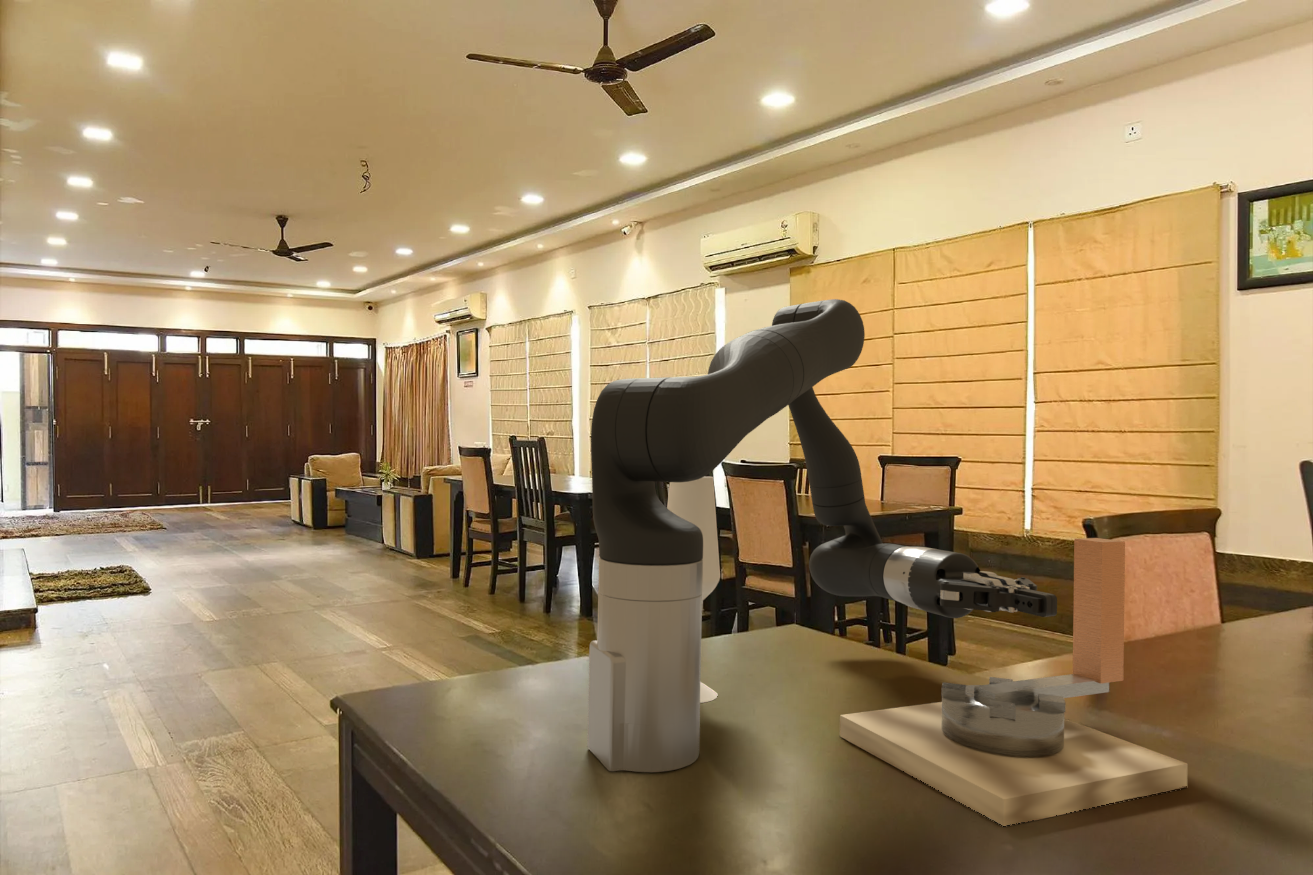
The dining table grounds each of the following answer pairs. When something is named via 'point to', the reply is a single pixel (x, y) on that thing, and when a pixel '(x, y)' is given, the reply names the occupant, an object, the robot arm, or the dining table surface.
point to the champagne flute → (699, 509)
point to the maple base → (1013, 766)
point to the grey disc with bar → (1035, 707)
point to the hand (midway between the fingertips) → (1051, 606)
